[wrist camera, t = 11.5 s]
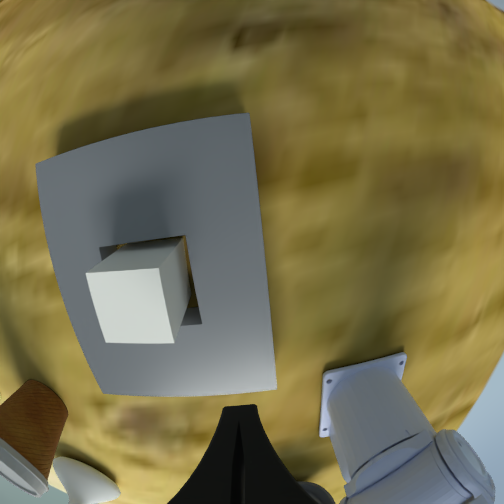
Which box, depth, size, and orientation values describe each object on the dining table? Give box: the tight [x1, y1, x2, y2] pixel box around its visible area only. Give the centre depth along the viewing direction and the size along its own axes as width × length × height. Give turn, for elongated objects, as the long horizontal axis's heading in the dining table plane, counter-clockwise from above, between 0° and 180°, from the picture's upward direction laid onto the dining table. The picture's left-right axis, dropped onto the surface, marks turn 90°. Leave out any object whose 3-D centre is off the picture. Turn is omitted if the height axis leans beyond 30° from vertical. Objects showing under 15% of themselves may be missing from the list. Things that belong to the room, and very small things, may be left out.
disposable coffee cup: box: [0, 380, 68, 497], centre depth 16 cm, size 10×10×12 cm
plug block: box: [86, 238, 191, 344], centre depth 15 cm, size 4×4×6 cm
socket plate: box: [36, 113, 277, 397], centre depth 17 cm, size 18×14×2 cm
